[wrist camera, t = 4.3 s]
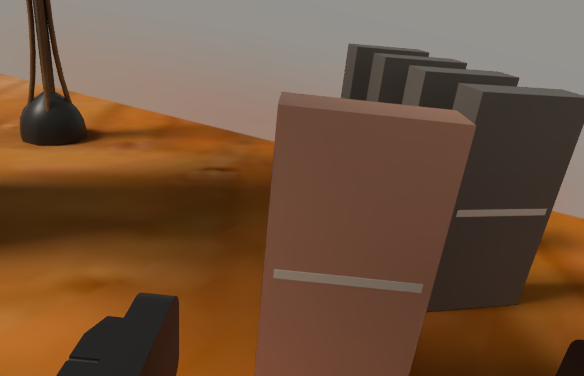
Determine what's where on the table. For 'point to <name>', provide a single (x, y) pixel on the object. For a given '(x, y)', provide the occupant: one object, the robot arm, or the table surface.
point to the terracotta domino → (355, 233)
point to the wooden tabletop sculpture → (48, 89)
